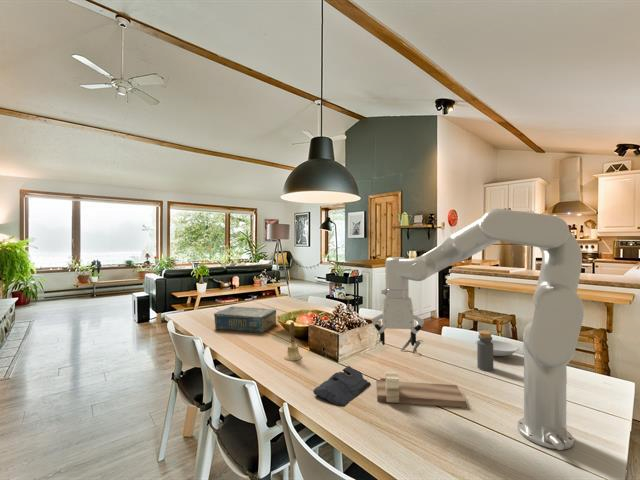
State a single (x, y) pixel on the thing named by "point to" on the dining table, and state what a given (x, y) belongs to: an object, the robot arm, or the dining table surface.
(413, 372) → the dining table surface
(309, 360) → the dining table surface
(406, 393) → the walnut board
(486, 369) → the bottle
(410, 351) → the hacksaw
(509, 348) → the dish
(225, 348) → the dining table surface
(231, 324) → the metal box
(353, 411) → the dining table surface
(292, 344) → the hand bell
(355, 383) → the dark slate chunk
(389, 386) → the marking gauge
